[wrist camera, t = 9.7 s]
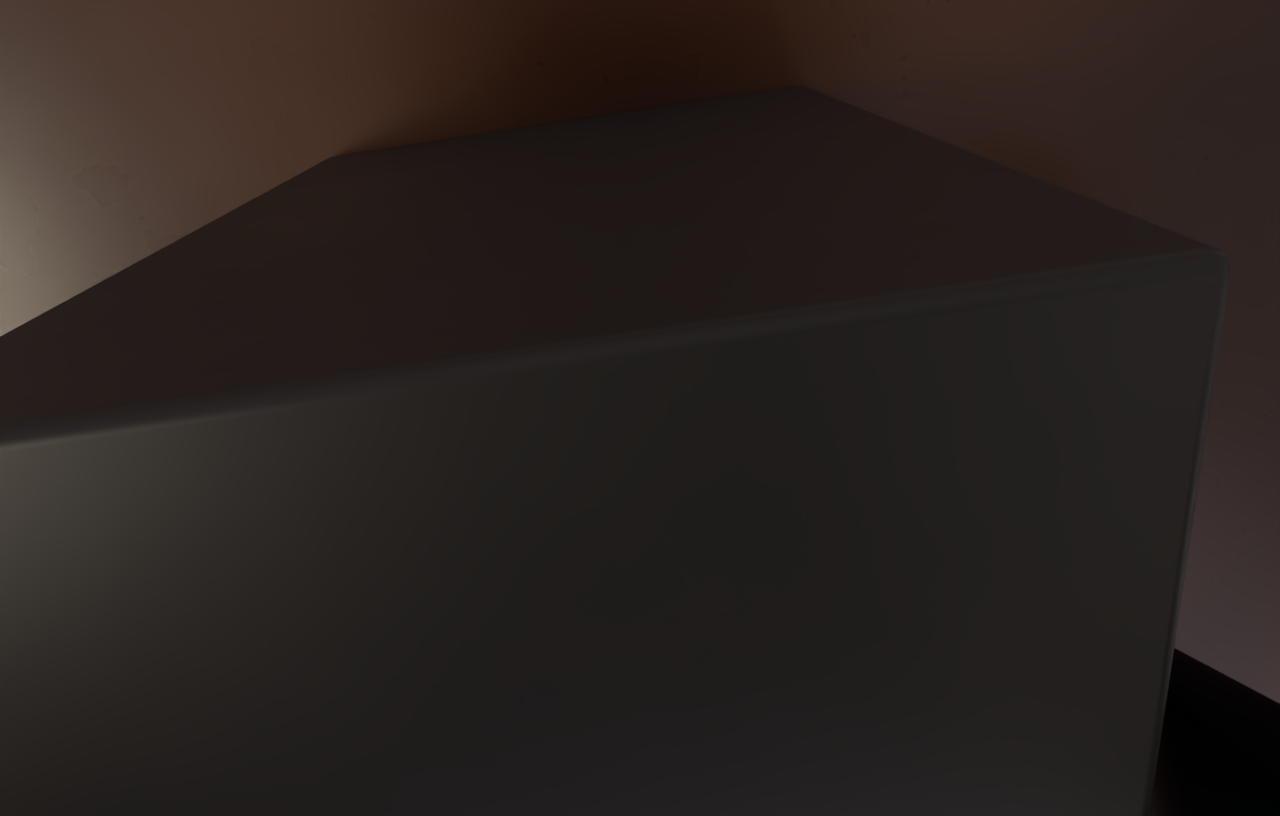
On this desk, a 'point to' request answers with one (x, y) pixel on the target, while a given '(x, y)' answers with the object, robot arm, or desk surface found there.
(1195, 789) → the robot arm
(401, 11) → the walnut board
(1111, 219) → the clock
